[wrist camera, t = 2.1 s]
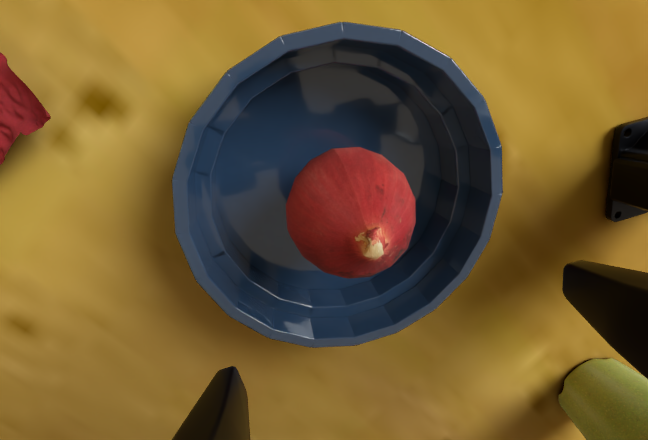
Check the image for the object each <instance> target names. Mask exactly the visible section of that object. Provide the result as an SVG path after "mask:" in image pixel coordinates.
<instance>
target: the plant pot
mask: <svg viewBox="0 0 648 440" xmlns="http://www.w3.org/2000/svg"><path fill="white" fill-rule="evenodd" d="M559 403H560V405H561V407H562V408H563V409H564V411H565V412H566V413H567V415H568V416H569V417H570V419H571V420H572V421H573V423H574V424H575V425H576V427H577V428H578V429H579V430H580V432H581V433H582V434H583V436H584V437H585V438H586V440H648V379H647V378H646V377H644V376H642V375H641V374H639V373H637V372H636V371H634V370H632V369H631V368H629V367H627V366H626V365H624V364H622V363H621V362H619V361H617V360H615V359H613V358H608V359H592V360H589V361H587V362H585V363H583V364H581V365H580V366H578V367H577V368H576V369H575V370H573V371H572V372H571V373H570V374H569V375H568V376H567V378H566V379H565V381H564V389H563V391H562V393H561V394H559Z"/></svg>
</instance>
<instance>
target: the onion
mask: <svg viewBox="0 0 648 440" xmlns="http://www.w3.org/2000/svg"><path fill="white" fill-rule="evenodd" d="M286 218H287V230H288V232H289V234H290V236H291V238H292V240H293V241H294V243H295V245H296V246H297V248H298V250H299V251H300V253H301V255H302V256H303V257H304V258H306V259H307V260H308V261H310V262H311V263H312V264H314V265H315V266H316V267H318V268H319V269H320V270H322V271H323V272H325V273H328V274H332V275H336V276H339V277H343V278H361V277H371V276H373V275H375V274H377V273H379V272H381V271H383V270H385V269H387V268H389V267H391V266H392V265H393V264H394V263H395V262H396V261H397V259H398V258H399V257H400V256H401V255H402V254H403V253H404V252H405V251H406V250H407V249H408V246H409V242H410V239H411V236H412V232H413V229H414V226H415V223H416V212H415V197H414V195H413V193H412V191H411V188H410V186H409V184H408V182H407V179H406V177H405V175H404V174H403V173H402V172H401V171H400V170H399V169H398V168H396V167H395V166H394V165H393V164H392V163H391V162H389V161H388V160H387V159H386V158H385V157H384V156H383V155H381V154H378V153H375V152H372V151H369V150H367V149H364V148H361V147H349V148H334V149H330V150H328V151H326V152H324V153H322V154H321V155H319V156H317V157H315V158H313V159H311V160H310V161H309V162H308V163H307V165H306V166H305V167H304V168H303V169H302V170H301V172H300V173H299V174H298V175H297V176H296V177H295V180H294V183H293V186H292V188H291V191H290V194H289V197H288V200H287V203H286Z"/></svg>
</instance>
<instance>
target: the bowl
mask: <svg viewBox="0 0 648 440" xmlns="http://www.w3.org/2000/svg"><path fill="white" fill-rule="evenodd" d="M349 147H361V148H364V149H367V150H369V151H372V152H375V153H378V154H381V155H383V156H384V157H385V158H386V159H387V160H388V161H389V162H391V163H392V164H393V165H394V166H395V167H396V168H398V169H399V170H400V171H401V172H402V173H403V174H404V175H405V177H406V179H407V182H408V184H409V186H410V188H411V191H412V193H413V195H414V197H415V212H416V223H415V226H414V229H413V232H412V236H411V239H410V242H409V246H408V249H407V250H406V251H405V252H404V253H403V254H402V255H401V256H400V257H399V258H398V259H397V261H396V262H395V263H394V264H393V265H392V266H391V267H389V268H387V269H385V270H383V271H381V272H379V273H377V274H375V275H373V276H371V277H361V278H343V277H339V276H336V275H332V274H328V273H325V272H323V271H322V270H320V269H319V268H318V267H316V266H315V265H314V264H312V263H311V262H310V261H308V260H307V259H306V258H304V257H303V256H302V255H301V253H300V251H299V250H298V248H297V246H296V245H295V243H294V241H293V240H292V238H291V236H290V234H289V232H288V230H287V218H286V203H287V200H288V197H289V194H290V191H291V188H292V186H293V183H294V180H295V177H296V176H297V175H298V174H299V173H300V172H301V170H302V169H303V168H304V167H305V166H306V165H307V163H308V162H309V161H310V160H311V159H313V158H315V157H317V156H319V155H321V154H322V153H324V152H326V151H328V150H330V149H334V148H349ZM172 190H173V206H174V222H175V234H176V236H177V239H178V241H179V243H180V246H181V248H182V250H183V253H184V255H185V257H186V259H187V262H188V264H189V266H190V269H191V271H192V273H193V275H194V278H195V280H196V281H197V283H198V284H199V285H200V286H201V287H202V288H203V289H204V290H205V291H206V292H207V293H208V294H209V296H210V297H211V298H212V299H213V300H214V301H215V302H216V303H217V304H218V305H219V306H220V307H221V309H222V310H223V311H224V312H225V313H226V314H227V315H229V317H231V318H233V319H235V320H237V321H238V322H240V323H242V324H244V325H246V326H247V327H249V328H251V329H253V330H254V331H256V332H258V333H260V334H262V335H263V336H265V337H267V338H270V339H274V340H279V341H283V342H288V343H292V344H297V345H301V346H306V347H312V348H318V347H338V346H355V345H359V344H363V343H366V342H369V341H372V340H375V339H379V338H382V337H385V336H388V335H391V334H395V333H397V332H399V331H401V330H402V329H404V328H406V327H407V326H409V325H411V324H412V323H414V322H416V321H417V320H419V319H421V318H422V317H424V316H425V315H427V314H429V313H430V312H432V311H434V310H435V309H436V308H437V307H438V306H439V305H440V304H441V303H442V302H443V301H444V300H445V299H446V298H447V297H448V296H449V295H450V294H451V293H452V292H453V291H454V290H455V289H456V288H457V287H458V286H459V285H460V284H461V283H462V282H463V281H464V280H465V279H466V278H467V277H468V275H469V274H470V272H471V270H472V269H473V267H474V265H475V263H476V262H477V260H478V258H479V257H480V255H481V253H482V252H483V250H484V248H485V247H486V245H487V243H488V242H489V240H490V239H489V238H490V237H491V233H492V230H493V226H494V222H495V219H496V215H497V211H498V208H499V204H500V201H501V197H502V193H503V188H502V146H501V143H500V140H499V137H498V135H497V132H496V129H495V126H494V123H493V120H492V118H491V115H490V112H489V109H488V106H487V104H486V101H485V99H484V97H483V96H482V95H481V93H480V92H479V91H478V90H477V88H476V87H475V86H474V85H473V84H472V82H471V81H470V80H469V79H468V78H467V76H466V75H465V74H464V73H463V72H462V70H461V69H460V68H459V67H458V65H457V64H456V63H455V62H454V61H453V59H451V58H450V57H449V56H447V55H446V54H444V53H442V52H440V51H439V50H437V49H435V48H433V47H431V46H430V45H428V44H426V43H424V42H423V41H421V40H419V39H417V38H415V37H414V36H412V35H410V34H408V33H407V32H405V31H401V30H400V29H393V28H386V27H378V26H371V25H364V24H357V23H350V22H337V23H333V24H329V25H324V26H320V27H316V28H311V29H307V30H303V31H299V32H294V33H290V34H286V35H282V36H279V37H277V38H276V39H274V40H273V41H271V42H270V43H268V44H267V45H265V46H264V47H262V48H261V49H259V50H258V51H256V52H255V53H253V54H252V55H250V56H249V57H247V58H246V59H244V60H243V61H241V62H240V63H238V64H237V65H235V66H233V67H232V68H230V69H229V70H227V72H226V73H225V74H224V75H223V76H222V78H221V79H220V81H219V82H218V83H217V85H216V86H215V87H214V89H213V90H212V91H211V93H210V94H209V95H208V97H207V98H206V99H205V101H204V102H203V103H202V105H201V106H200V108H199V109H198V110H197V112H196V113H195V114H194V116H193V117H192V118H191V120H190V122H189V123H188V126H187V129H186V133H185V136H184V140H183V143H182V146H181V150H180V153H179V156H178V160H177V163H176V167H175V170H174V173H173V177H172Z"/></svg>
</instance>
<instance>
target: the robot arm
mask: <svg viewBox="0 0 648 440" xmlns="http://www.w3.org/2000/svg"><path fill="white" fill-rule="evenodd" d="M624 132H625V133H624ZM647 212H648V117H646V118H642V119H638V120H635V121H631V122H628V123H624V124H621V125H619V126H618V127H617V128H616V130H615V133H614V140H613V149H612V159H611V168H610V177H609V187H608V196H607V206H606V218H607V219H608V220H611V221H614V222H617V221H621V220H624V219H627V218H631V217H634V216H637V215H641V214H644V213H647ZM562 289H563V294H564V296H565V297H566V299H567V300H568V301H569V302H570V303H571V304H572V305H573V306H574V307H575V309H576V310H577V311H578V312H579V313H580V314H581V315H582V316H583V317H584V318H585V319H586V320H587V321H588V322H589V323H590V325H591V326H592V327H593V328H594V329H595V330H596V331H597V332H598V333H599V334H600V335H601V336H602V337H603V338H604V339H605V340H606V341H607V342H608V344H609V345H610V346H612V347H613V348H614V349H615V350H616V351H617V352H618V353H619V354H620V355H621V356H622V357H623V358H625V359H626V360H627V361H628V362H629V363H630V364H631V365H632V366H633V367H635V368H636V369H637V370H638V371H639V372H640V373H641V374H642V375H643V376H645V377H646V378H647V379H648V273H646V272H641V271H635V270H630V269H625V268H620V267H614V266H609V265H604V264H599V263H594V262H588V261H583V260H580V261H576V262H572V263H569V264H567V265H565V267H564V269H563V288H562ZM172 440H250V428H249V412H248V397H247V392H246V389H245V386H244V384H243V382H242V379H241V377H240V375H239V373H238V370H237V369H236V367H234V366H231V367H228V368H225V369H221V370H219V371H218V372H217V373H216V375H215V376H214V377H213V379H212V380H211V382H210V383H209V385H208V386H207V388H206V389H205V391H204V392H203V394H202V395H201V397H200V398H199V400H198V401H197V403H196V404H195V406H194V407H193V409H192V410H191V412H190V413H189V415H188V416H187V418H186V419H185V421H184V422H183V424H182V425H181V427H180V428H179V430H178V431H177V433H176V434H175V436H174V437H173V439H172Z"/></svg>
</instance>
